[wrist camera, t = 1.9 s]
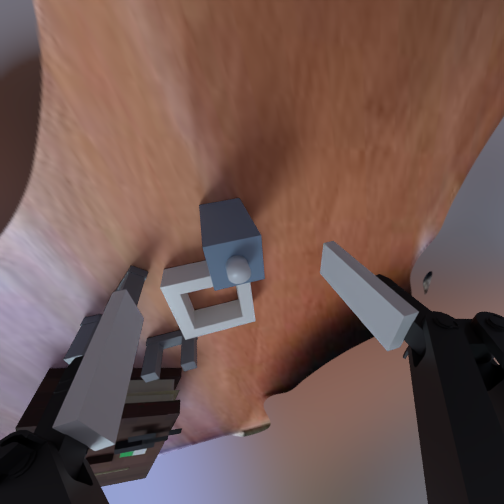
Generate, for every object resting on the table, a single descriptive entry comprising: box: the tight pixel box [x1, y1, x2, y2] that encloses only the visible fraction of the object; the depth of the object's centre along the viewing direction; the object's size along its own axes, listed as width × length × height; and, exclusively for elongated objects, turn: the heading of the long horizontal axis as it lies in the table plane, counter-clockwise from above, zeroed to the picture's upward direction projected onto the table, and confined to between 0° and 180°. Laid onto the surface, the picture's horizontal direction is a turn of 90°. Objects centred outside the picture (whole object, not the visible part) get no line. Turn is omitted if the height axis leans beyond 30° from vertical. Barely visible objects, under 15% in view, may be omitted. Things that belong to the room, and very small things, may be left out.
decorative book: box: [16, 368, 182, 487], centre depth 33 cm, size 19×8×30 cm
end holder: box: [160, 260, 255, 340], centre depth 25 cm, size 9×9×3 cm
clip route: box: [63, 265, 198, 382], centre depth 23 cm, size 11×14×5 cm
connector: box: [199, 198, 265, 291], centre depth 18 cm, size 4×4×9 cm
